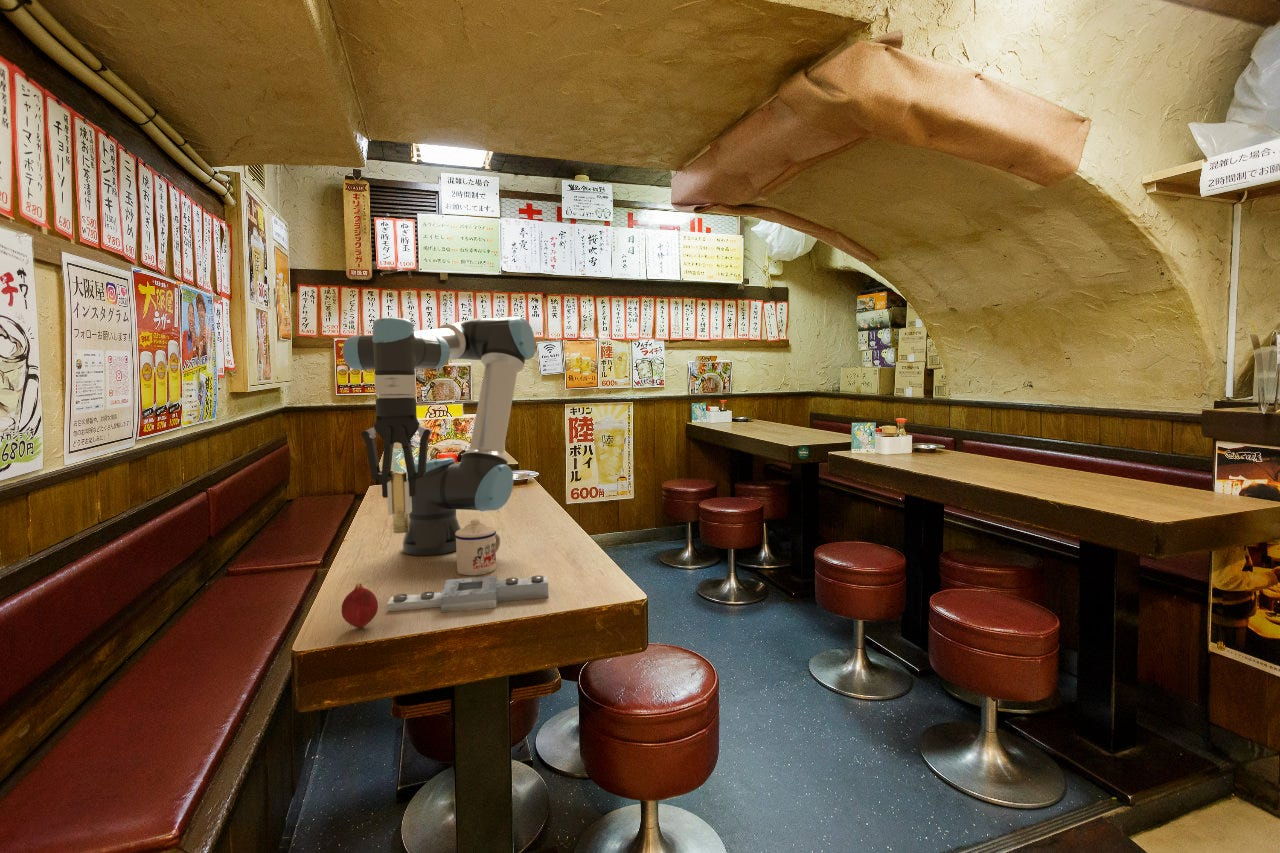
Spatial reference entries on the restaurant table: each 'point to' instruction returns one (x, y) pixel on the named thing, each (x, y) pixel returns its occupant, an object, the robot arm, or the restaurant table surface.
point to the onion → (359, 607)
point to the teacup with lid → (476, 549)
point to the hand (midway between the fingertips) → (400, 512)
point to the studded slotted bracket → (473, 594)
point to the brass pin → (399, 503)
